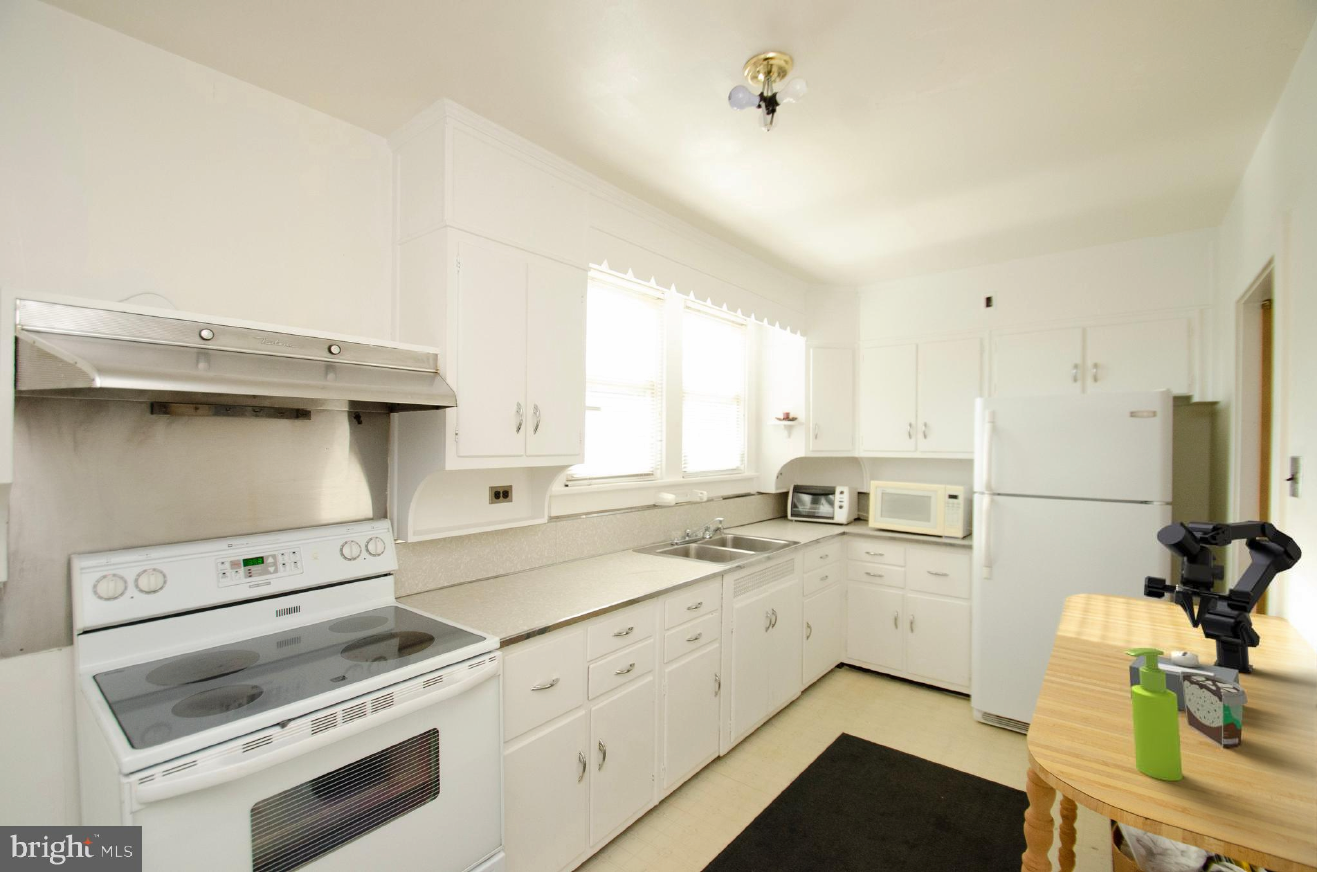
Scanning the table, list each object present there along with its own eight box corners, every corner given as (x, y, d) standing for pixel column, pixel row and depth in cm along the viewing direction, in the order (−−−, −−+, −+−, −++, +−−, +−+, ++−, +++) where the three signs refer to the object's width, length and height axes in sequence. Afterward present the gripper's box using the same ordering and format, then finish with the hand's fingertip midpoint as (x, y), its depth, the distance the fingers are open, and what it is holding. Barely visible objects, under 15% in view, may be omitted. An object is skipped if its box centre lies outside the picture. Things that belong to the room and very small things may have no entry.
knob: (1174, 677, 132) (1173, 649, 132) (1201, 682, 128) (1199, 653, 129) (1171, 682, 129) (1169, 653, 129) (1198, 687, 125) (1196, 658, 126)
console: (1143, 684, 136) (1141, 652, 137) (1240, 704, 124) (1238, 669, 125) (1131, 698, 128) (1129, 664, 129) (1234, 721, 116) (1231, 684, 117)
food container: (1270, 754, 103) (1266, 695, 104) (1229, 752, 105) (1224, 694, 105) (1219, 724, 116) (1215, 671, 116) (1182, 722, 117) (1179, 670, 117)
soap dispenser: (1121, 764, 101) (1113, 645, 102) (1158, 761, 102) (1151, 643, 103) (1152, 782, 96) (1144, 655, 97) (1192, 779, 96) (1183, 653, 97)
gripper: (1146, 543, 144) (1143, 600, 136) (1255, 556, 132) (1258, 620, 124) (1145, 567, 150) (1142, 623, 143) (1249, 582, 138) (1251, 644, 131)
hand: (1195, 627), depth 135 cm, fingers closed
